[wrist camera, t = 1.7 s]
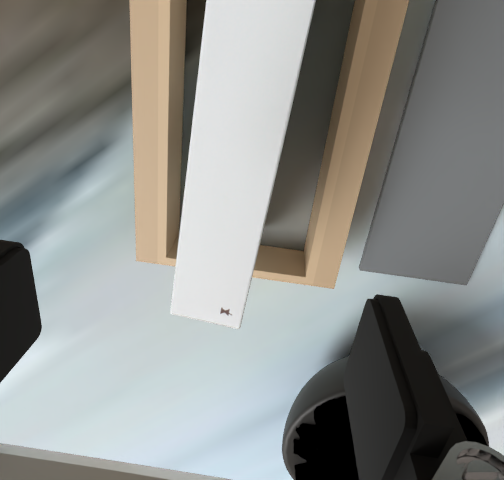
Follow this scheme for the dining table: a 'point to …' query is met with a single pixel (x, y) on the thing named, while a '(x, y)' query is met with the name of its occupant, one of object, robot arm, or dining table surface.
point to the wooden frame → (334, 157)
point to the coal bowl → (342, 427)
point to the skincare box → (235, 149)
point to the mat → (446, 151)
